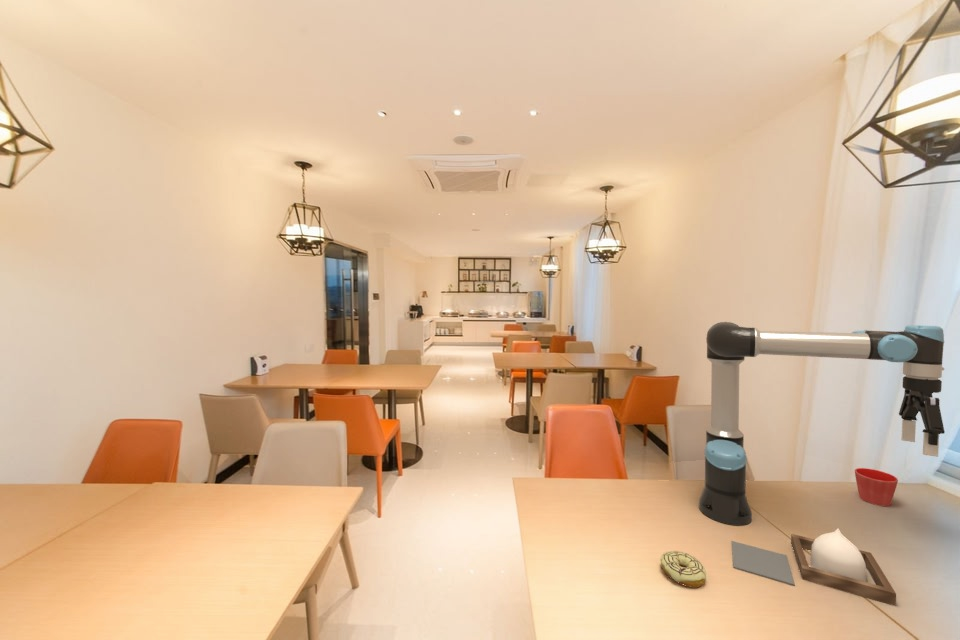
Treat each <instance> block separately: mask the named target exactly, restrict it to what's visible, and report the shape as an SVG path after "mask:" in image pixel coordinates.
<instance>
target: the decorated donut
mask: <svg viewBox="0 0 960 640" xmlns="http://www.w3.org/2000/svg"><path fill="white" fill-rule="evenodd" d="M660 564H661V565H660V566H661V567H662V570H663V571H665V572H664V573H665V574H666V576H667V577H669V578H670V577H671V578H672V580H673V579H674V580H673V581H674V582H677V583H678V582H679V583H678V584H680V583H681V584H684V585H686V586H685V587H687V586H691V587H690V588H693V587H698V588H699V587H702V586H703V585H704V584H705V582H706V580H707V571H706V569H705V566H704V565H703V563H702V562H701V561H700V560H698V559H697V558H696V557H695V556H693V555H691V554H690V553H687V552H684V551H678V550H673V551H672V550H671V551H666V552H663V553H662V554H661V556H660ZM671 578H670V579H671ZM681 584H680V585H681ZM684 585H683V586H684Z"/></svg>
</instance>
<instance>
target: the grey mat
mask: <svg viewBox="0 0 960 640" xmlns="http://www.w3.org/2000/svg"><path fill="white" fill-rule="evenodd" d="M731 552H732V555H733V556H732V567H733V569H736V570H739V571H742V572H746V573H750V574H753V575H756V576H759V577H762V578H766V579H770V580H771V581H772V580H773V581H777V582H778V583H779V582H780V583H784V584H785V585H790V586H793V587H796V584H795V583H796V582H795V579H794V576H793V572H792V568H791V565H790V562H789V559H788V556H787V554H783V553H780V552H776V551H772V550H769V549H764V548H762V547H761V548H760V547H756V546H753V545H750V544H744V543H742V542H739V541H738V542H737V541H735V540H734V541H733V540H731Z"/></svg>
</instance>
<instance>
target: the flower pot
mask: <svg viewBox="0 0 960 640" xmlns="http://www.w3.org/2000/svg"><path fill="white" fill-rule="evenodd" d="M854 475H855V481H856V487H857V492H858V495H859V498H860V499H861V500H862V501H864V502H867V503H869V504H871V505H876V506H880V507H890V506H891V505H892V501H893V498H894V495H895V491H896V489H897V486H898V482H899V479H898V477H896V476H895V475H893V474H890V473H888V472H885V471H881V470H878V469H873V468H866V467H862V468H861V467H860V468H858V467H857V468H856V469H854Z"/></svg>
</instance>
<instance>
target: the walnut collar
mask: <svg viewBox="0 0 960 640" xmlns="http://www.w3.org/2000/svg"><path fill="white" fill-rule="evenodd" d="M815 539H816V538H811V537H808V536H807V537H806V536H802V535H798V534H793V533H791V534H790V545H791V544H792V545H791V547H793V548H792V551H793V550H794V551H793V554H795V555H794V557H796V558H795V561H796V564H797V567H798V570H800V571H799V573H800V576H801V580H803V581H806V582H809V583H810V582H811V583H814V584H818V585H822V586H824V587H828V588H832V589H835V590H837V591H838V590H839V591H841V592H845V593H849V594H852V595H853V594H854V595H856V596H859V597H863V598H867V599H871V600H874V601H877V602H881V603H885V604H887V605H891V606H895V607H896V606H897V593H896V591H895V590H894V587H893V586H892V584H891V583H890V581H889V580H888V578H887V577H886V574H885V573H884V572H883V569H882V568H881V567H880V565H879V563H878V562H877V560H876V558H875V557H874V556H873V554H872V552H869V551H865V550H860V549H858V550H859V551H860V553H861V555H862V557H863V559H864V561H865V564H866V570H868V573H869V574H870V576H871V578H872V580H873V581H874V583H871V582H868V581H867V582H864V581H860V580H856V579H853V578H849V577H845V576H842V575H838V574H834V573H831V572H827V571H823V570H819V569H816V568H813V567H812V566H809V564H808V561H807V557H806V555H805V552H804V550H805V549H807V550H806V551H808V550H811V549H812V544H813V542H814V541H815ZM802 548H803V549H802Z"/></svg>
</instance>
